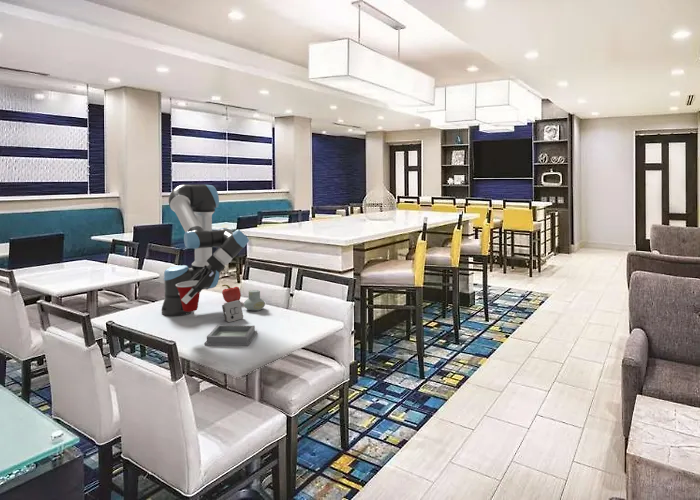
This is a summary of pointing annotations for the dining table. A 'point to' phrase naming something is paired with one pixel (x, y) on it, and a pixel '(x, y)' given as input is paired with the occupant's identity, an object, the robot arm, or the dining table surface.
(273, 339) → the dining table surface
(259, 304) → the air freshener
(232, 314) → the electrical switch
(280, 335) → the dining table surface
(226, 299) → the vegetable
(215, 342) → the pocket tray
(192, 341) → the dining table surface
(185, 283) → the plastic cup
